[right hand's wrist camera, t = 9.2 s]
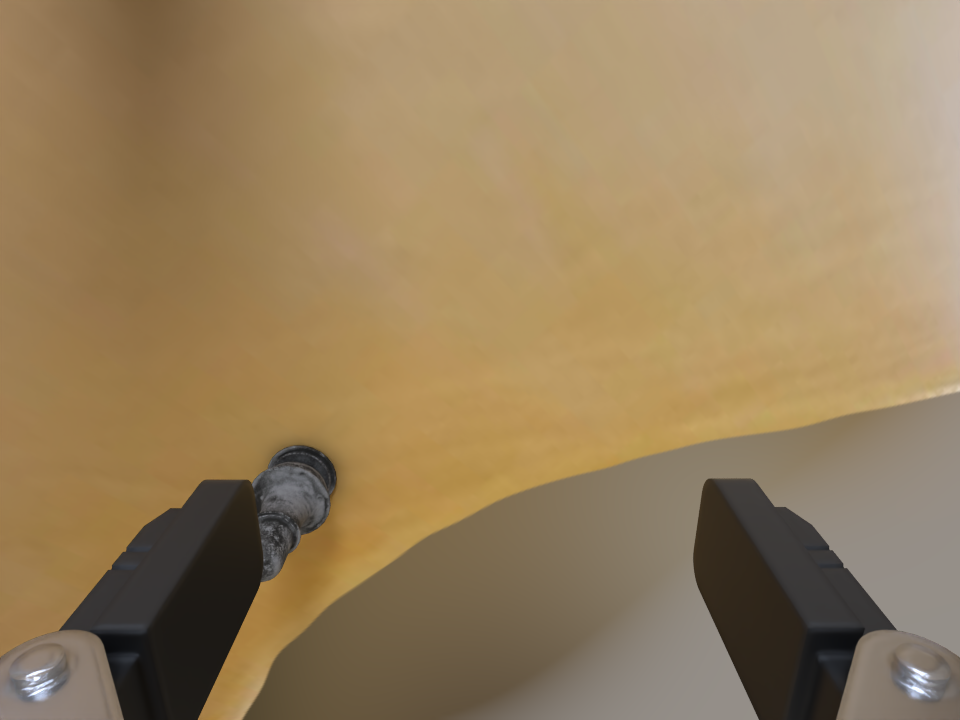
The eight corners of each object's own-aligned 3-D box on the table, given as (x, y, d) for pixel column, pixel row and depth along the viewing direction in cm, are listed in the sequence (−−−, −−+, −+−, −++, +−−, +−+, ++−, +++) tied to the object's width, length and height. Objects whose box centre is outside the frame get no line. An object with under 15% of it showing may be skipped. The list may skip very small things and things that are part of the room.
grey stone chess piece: (355, 481, 50) (319, 588, 39) (300, 520, 51) (250, 635, 40) (303, 427, 48) (249, 523, 37) (247, 469, 49) (179, 574, 38)
